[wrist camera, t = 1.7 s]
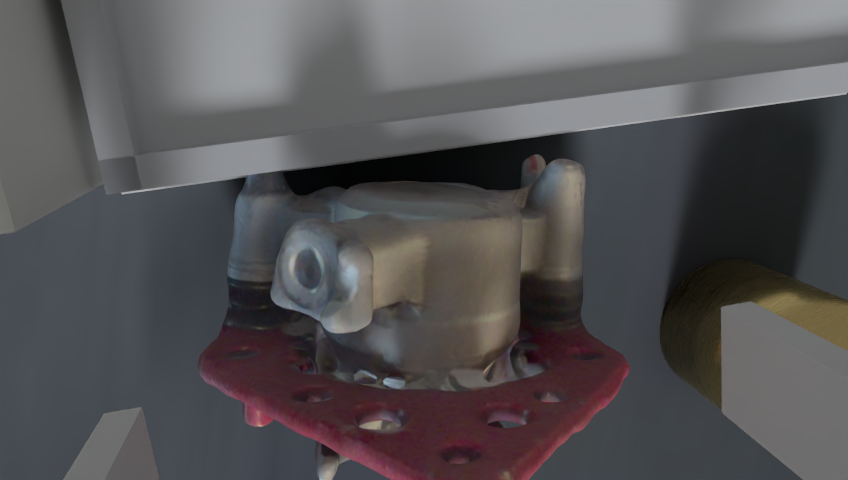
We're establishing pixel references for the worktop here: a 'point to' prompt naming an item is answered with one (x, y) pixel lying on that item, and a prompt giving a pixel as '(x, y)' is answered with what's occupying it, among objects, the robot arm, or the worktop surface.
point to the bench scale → (367, 80)
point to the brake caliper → (415, 322)
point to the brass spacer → (732, 284)
